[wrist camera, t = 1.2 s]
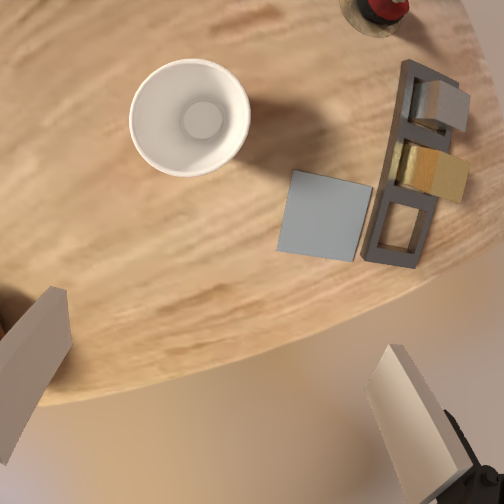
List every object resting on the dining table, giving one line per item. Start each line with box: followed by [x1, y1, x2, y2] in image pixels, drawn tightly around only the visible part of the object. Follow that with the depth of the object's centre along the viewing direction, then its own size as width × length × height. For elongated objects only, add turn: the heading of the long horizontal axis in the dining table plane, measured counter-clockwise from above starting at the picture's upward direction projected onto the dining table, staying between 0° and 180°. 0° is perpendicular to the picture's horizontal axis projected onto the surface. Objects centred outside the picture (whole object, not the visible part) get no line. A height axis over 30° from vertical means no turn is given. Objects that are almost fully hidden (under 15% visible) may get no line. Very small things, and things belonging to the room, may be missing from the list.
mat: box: [277, 170, 372, 262], centre depth 38 cm, size 10×10×1 cm
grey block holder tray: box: [360, 59, 459, 269], centre depth 35 cm, size 26×8×2 cm, turn 170°
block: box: [408, 80, 470, 132], centre depth 30 cm, size 5×5×7 cm
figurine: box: [340, 0, 409, 38], centre depth 25 cm, size 8×10×12 cm
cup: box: [129, 58, 251, 177], centre depth 28 cm, size 10×10×11 cm
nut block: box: [395, 144, 470, 204], centre depth 32 cm, size 5×5×9 cm
